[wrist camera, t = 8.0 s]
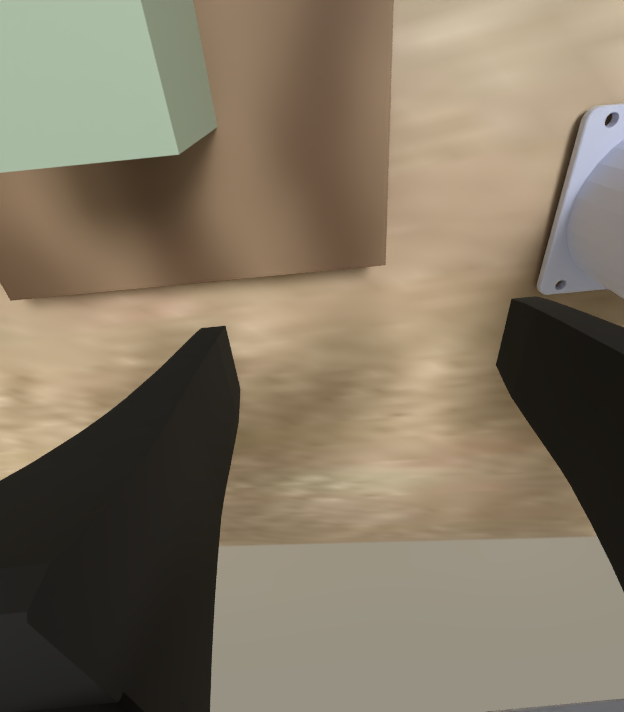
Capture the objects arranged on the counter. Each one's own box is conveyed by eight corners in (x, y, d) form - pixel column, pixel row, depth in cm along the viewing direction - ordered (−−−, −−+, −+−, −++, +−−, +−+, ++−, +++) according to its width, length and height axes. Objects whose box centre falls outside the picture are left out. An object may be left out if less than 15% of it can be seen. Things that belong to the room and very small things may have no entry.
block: (186, -34, 11) (111, -118, 6) (217, 126, 14) (179, 154, 9) (47, -19, 11) (-133, -93, 6) (101, 138, 14) (-1, 172, 9)
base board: (387, -412, 9) (409, -516, 8) (376, 248, 19) (385, 265, 17) (-291, -348, 9) (-412, -438, 8) (35, 280, 19) (10, 300, 17)
